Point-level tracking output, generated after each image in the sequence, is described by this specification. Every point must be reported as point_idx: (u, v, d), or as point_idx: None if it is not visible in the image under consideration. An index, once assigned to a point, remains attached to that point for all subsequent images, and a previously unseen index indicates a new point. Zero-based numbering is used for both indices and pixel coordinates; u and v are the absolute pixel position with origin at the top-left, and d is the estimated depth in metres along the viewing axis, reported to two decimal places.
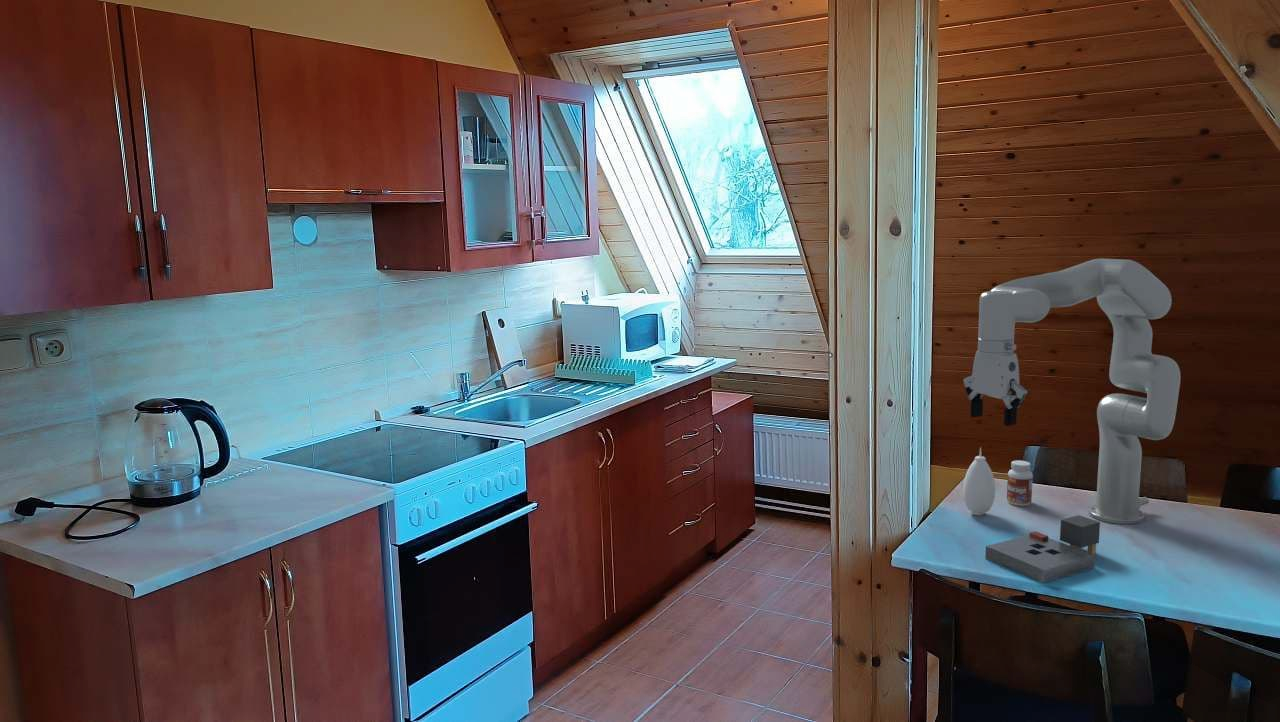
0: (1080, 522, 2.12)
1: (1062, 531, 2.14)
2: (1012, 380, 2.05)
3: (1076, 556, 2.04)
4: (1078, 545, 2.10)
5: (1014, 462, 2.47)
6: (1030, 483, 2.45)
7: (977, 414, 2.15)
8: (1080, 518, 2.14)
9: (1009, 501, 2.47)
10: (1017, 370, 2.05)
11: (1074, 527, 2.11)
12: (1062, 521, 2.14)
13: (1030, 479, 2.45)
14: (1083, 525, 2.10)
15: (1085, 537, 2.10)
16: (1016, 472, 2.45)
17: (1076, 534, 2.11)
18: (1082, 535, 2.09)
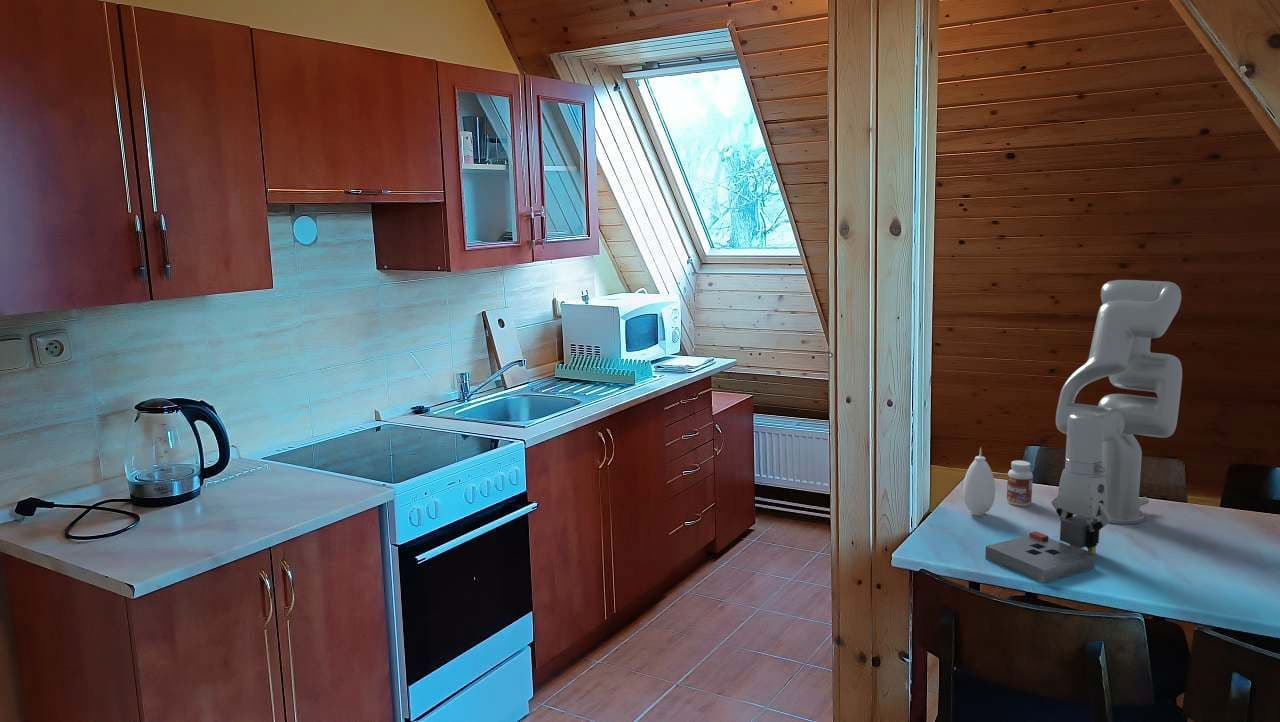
0: (1080, 522, 2.12)
1: (1062, 531, 2.14)
2: (1100, 504, 2.07)
3: (1076, 556, 2.04)
4: (1078, 545, 2.10)
5: (1014, 462, 2.47)
6: (1030, 483, 2.45)
7: None
8: (1080, 518, 2.14)
9: (1009, 501, 2.47)
10: (1105, 491, 2.08)
11: (1074, 527, 2.11)
12: (1062, 521, 2.14)
13: (1030, 479, 2.45)
14: (1083, 525, 2.10)
15: (1085, 537, 2.10)
16: (1016, 472, 2.45)
17: (1076, 535, 2.11)
18: (1082, 535, 2.09)
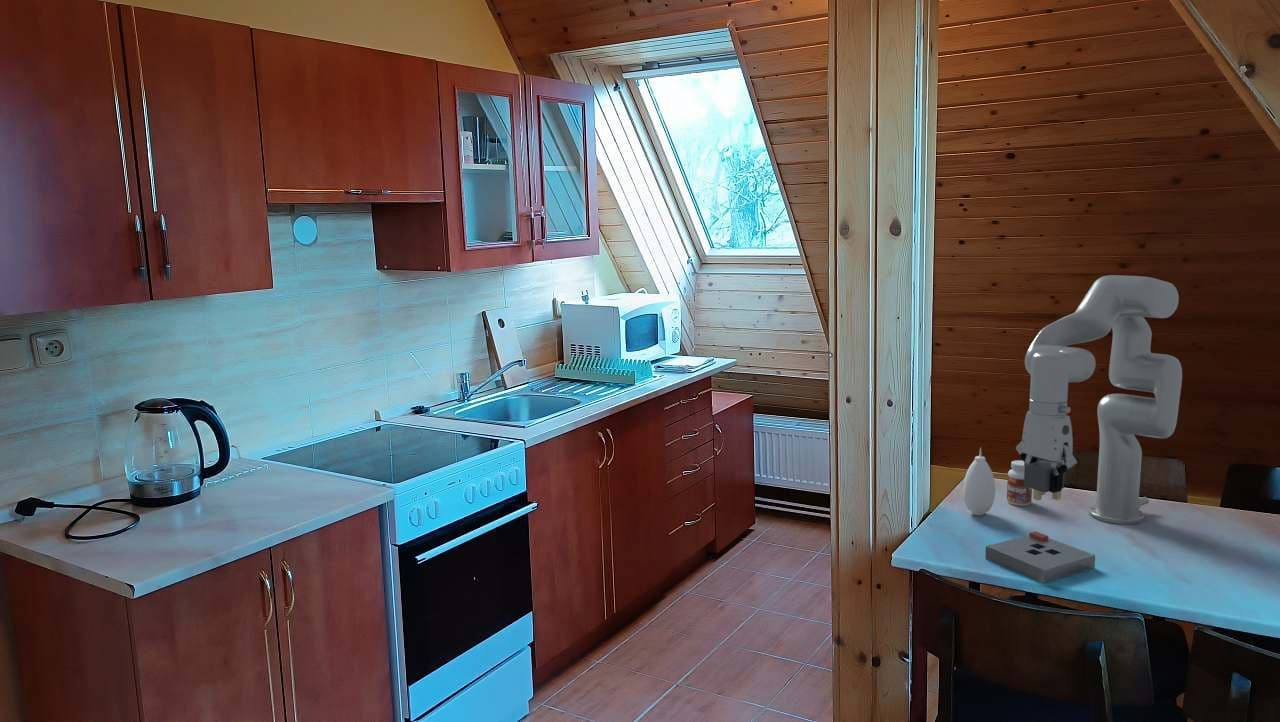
0: (1044, 466, 2.03)
1: (1026, 476, 2.06)
2: (1065, 446, 1.99)
3: (1076, 556, 2.04)
4: (1042, 489, 2.02)
5: (1014, 462, 2.47)
6: None
7: None
8: (1045, 463, 2.06)
9: (1009, 501, 2.47)
10: (1070, 433, 2.00)
11: (1038, 471, 2.03)
12: (1026, 465, 2.05)
13: None
14: (1047, 469, 2.02)
15: (1049, 481, 2.02)
16: (1016, 472, 2.45)
17: (1040, 479, 2.02)
18: (1046, 478, 2.01)
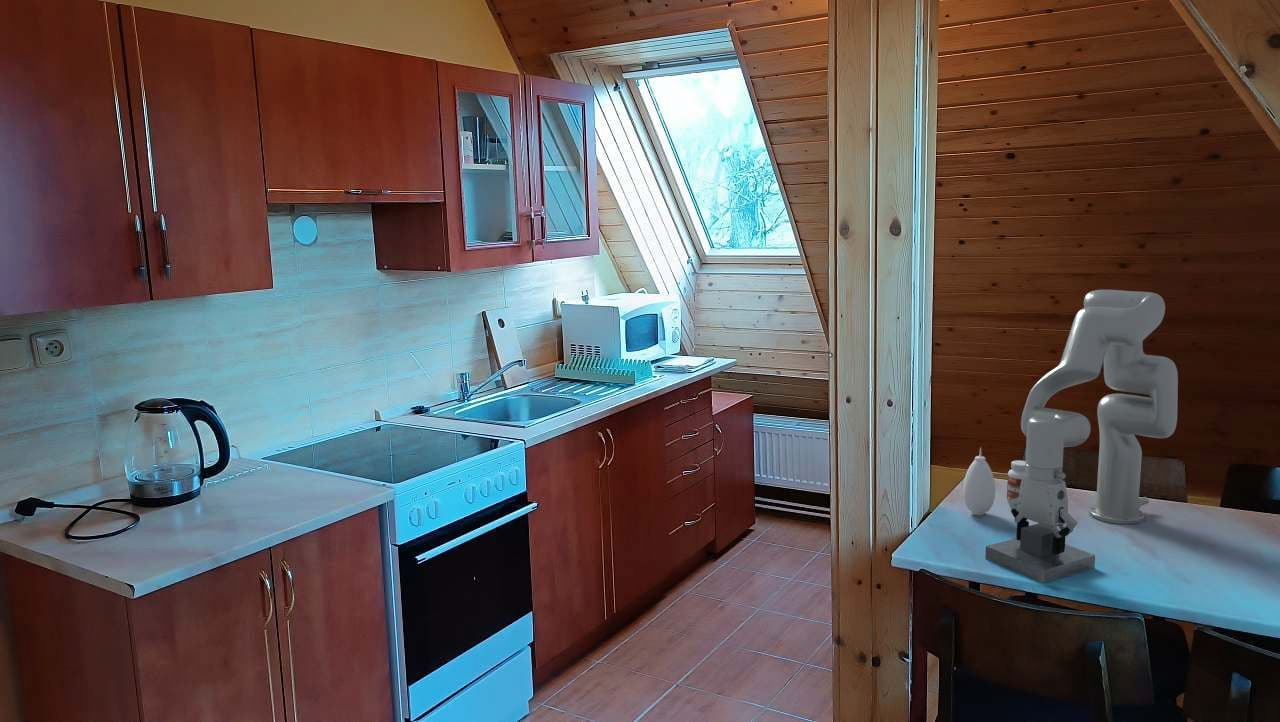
0: (1040, 531, 2.06)
1: (1022, 540, 2.08)
2: (1061, 508, 2.01)
3: (1076, 556, 2.04)
4: (1038, 554, 2.05)
5: (1014, 462, 2.47)
6: None
7: None
8: (1041, 526, 2.09)
9: None
10: (1066, 498, 2.02)
11: (1034, 536, 2.05)
12: (1022, 529, 2.08)
13: None
14: (1043, 534, 2.04)
15: (1045, 546, 2.04)
16: (1016, 472, 2.45)
17: (1036, 543, 2.05)
18: (1042, 544, 2.04)
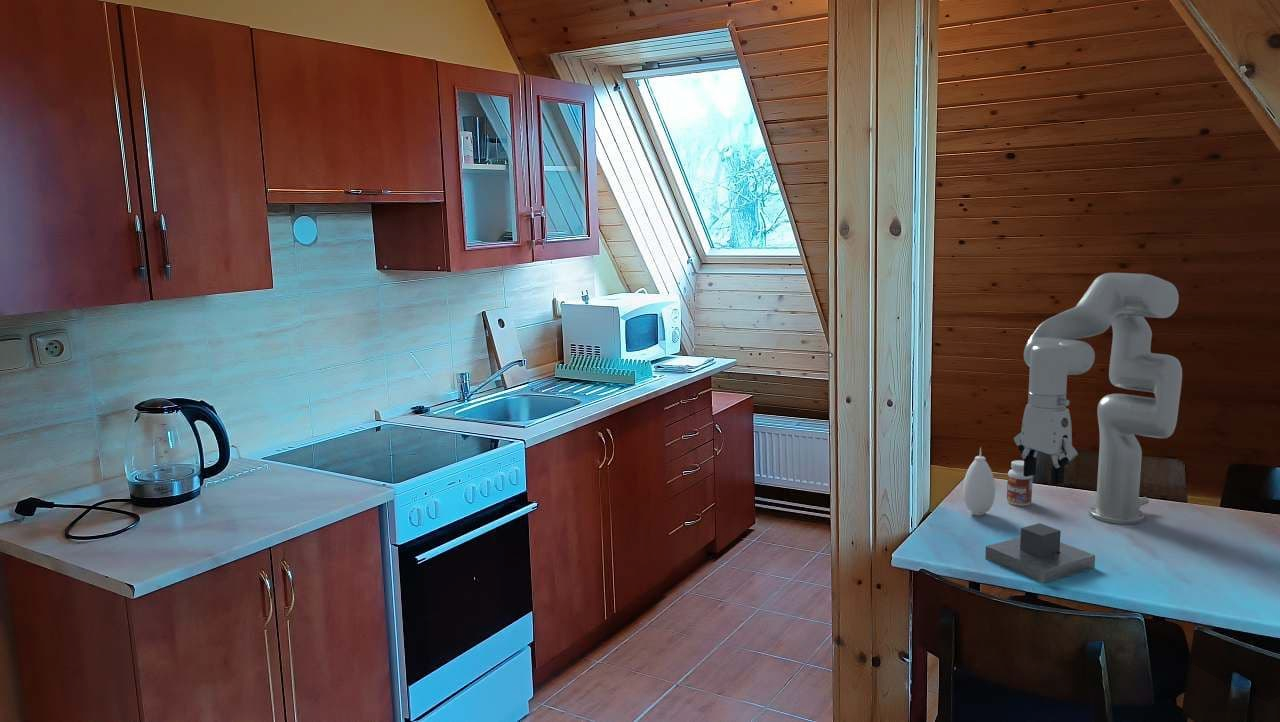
0: (1040, 531, 2.06)
1: (1022, 540, 2.08)
2: (1064, 438, 1.99)
3: (1076, 556, 2.04)
4: (1038, 554, 2.05)
5: (1014, 462, 2.47)
6: (1030, 483, 2.45)
7: (1030, 473, 2.08)
8: (1041, 526, 2.09)
9: (1009, 501, 2.47)
10: (1070, 426, 1.99)
11: (1034, 536, 2.05)
12: (1022, 529, 2.08)
13: (1030, 479, 2.45)
14: (1043, 534, 2.04)
15: (1045, 546, 2.04)
16: (1016, 472, 2.45)
17: (1036, 543, 2.05)
18: (1042, 544, 2.04)
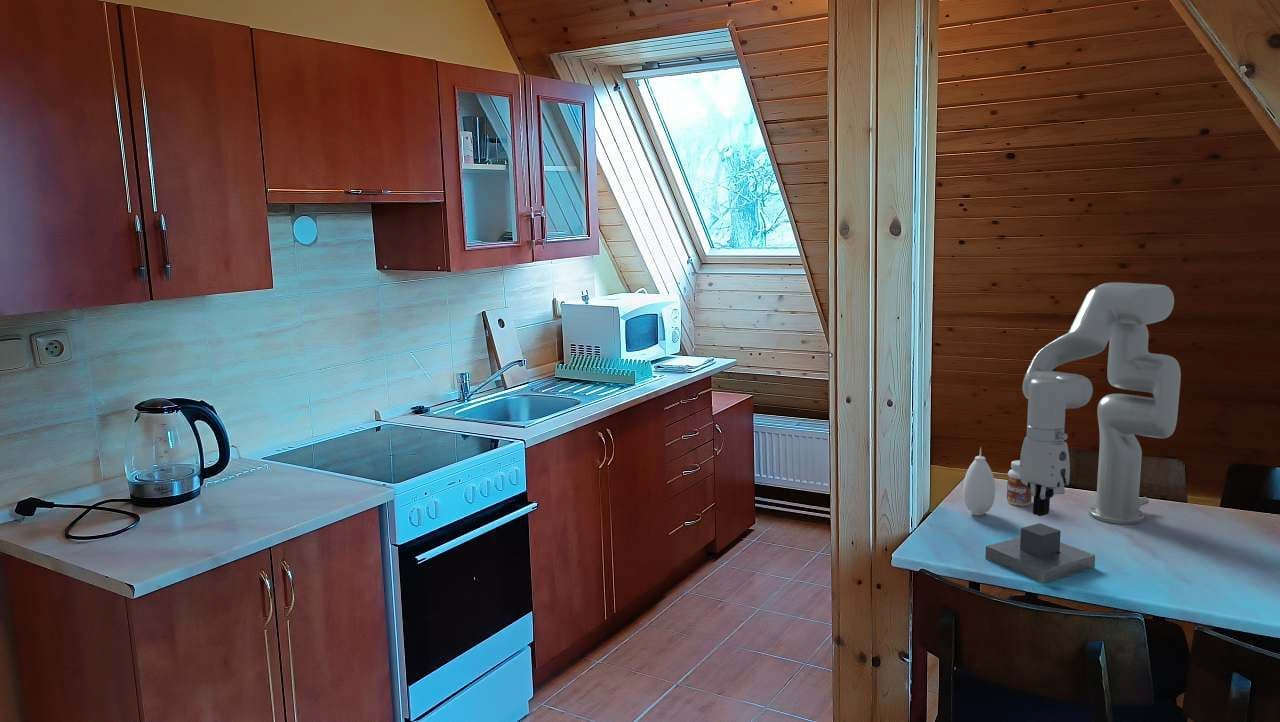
0: (1040, 531, 2.06)
1: (1022, 540, 2.08)
2: (1060, 474, 2.01)
3: (1076, 556, 2.04)
4: (1038, 554, 2.05)
5: (1014, 462, 2.47)
6: None
7: None
8: (1041, 526, 2.09)
9: (1009, 501, 2.47)
10: (1068, 459, 2.00)
11: (1034, 536, 2.05)
12: (1022, 529, 2.08)
13: None
14: (1043, 534, 2.04)
15: (1045, 546, 2.04)
16: (1016, 472, 2.45)
17: (1036, 543, 2.05)
18: (1042, 544, 2.04)
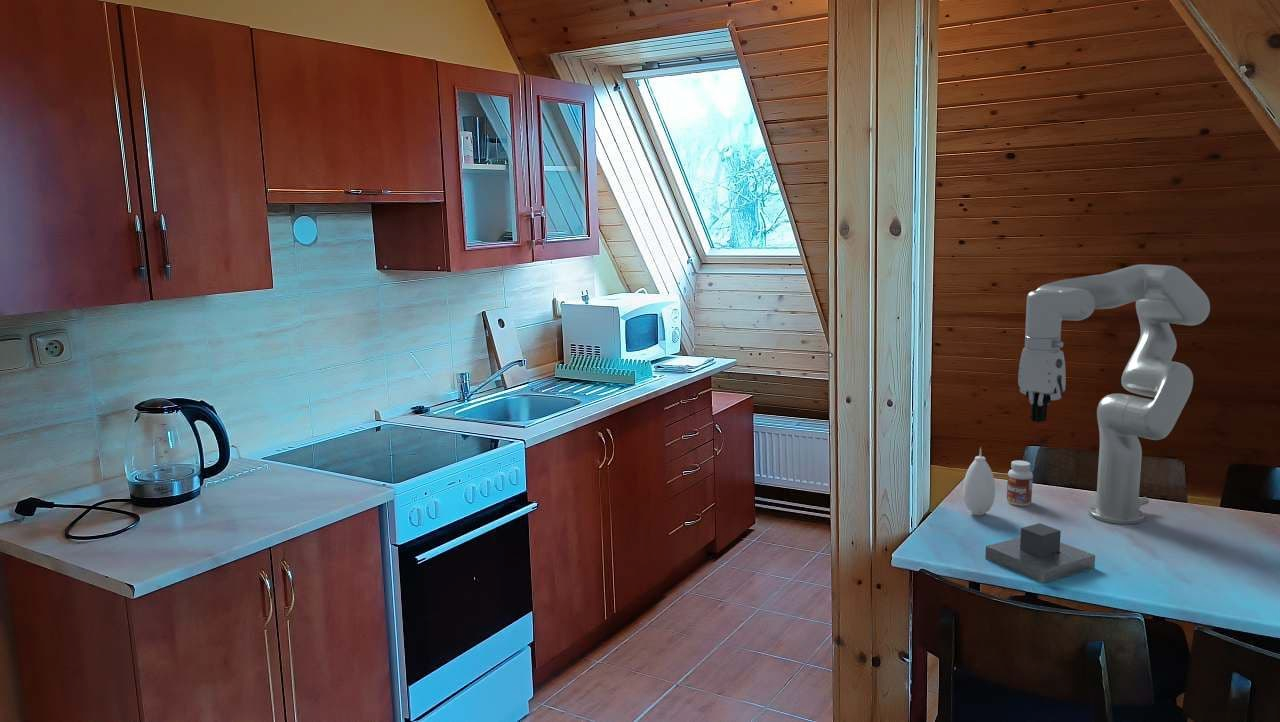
0: (1040, 531, 2.06)
1: (1022, 540, 2.08)
2: (1056, 381, 2.12)
3: (1076, 556, 2.04)
4: (1038, 554, 2.05)
5: (1014, 462, 2.47)
6: (1030, 483, 2.45)
7: None
8: (1041, 526, 2.09)
9: (1009, 501, 2.47)
10: (1064, 367, 2.12)
11: (1034, 536, 2.05)
12: (1022, 529, 2.08)
13: (1030, 479, 2.45)
14: (1043, 534, 2.04)
15: (1045, 546, 2.04)
16: (1016, 472, 2.45)
17: (1036, 543, 2.05)
18: (1042, 544, 2.04)
